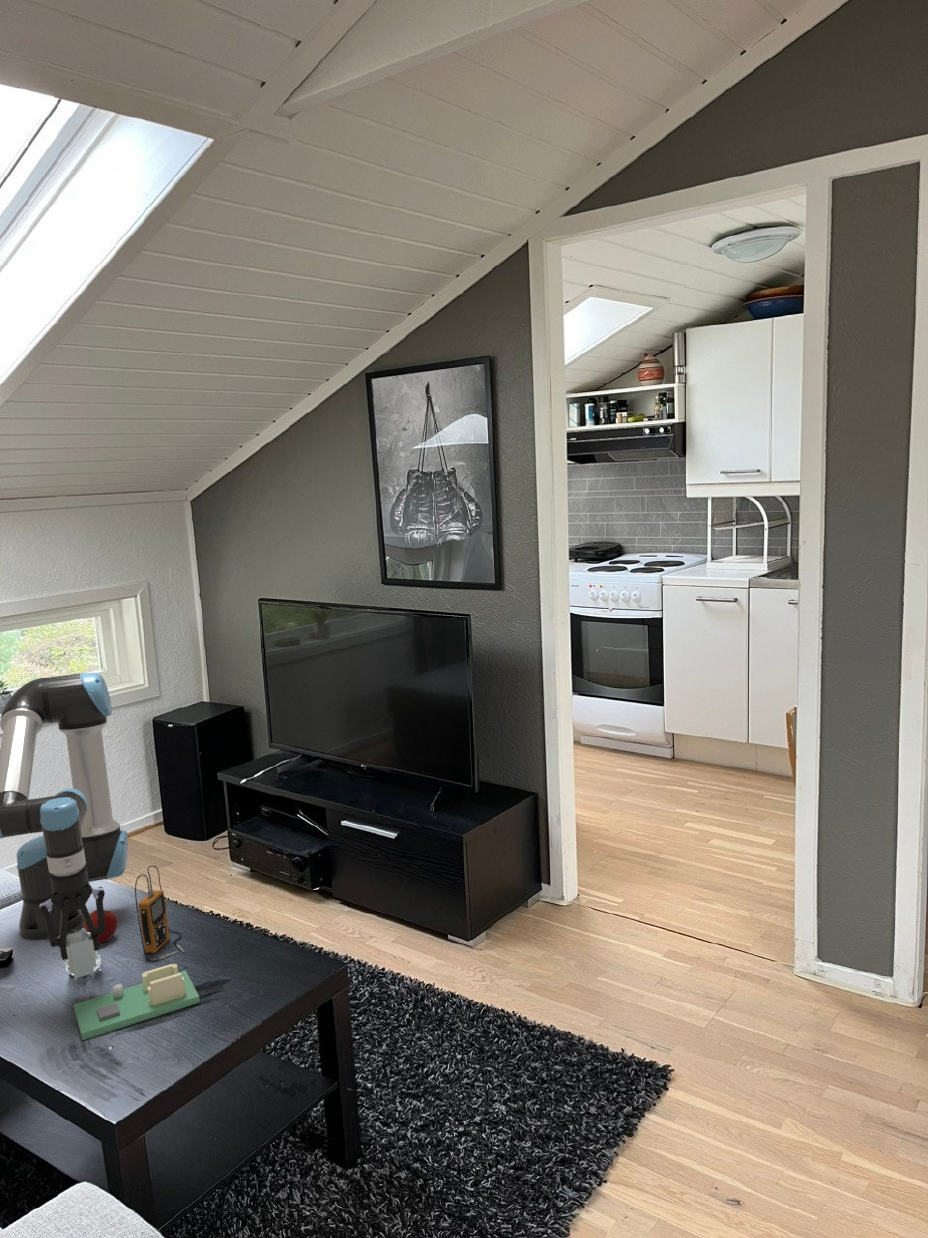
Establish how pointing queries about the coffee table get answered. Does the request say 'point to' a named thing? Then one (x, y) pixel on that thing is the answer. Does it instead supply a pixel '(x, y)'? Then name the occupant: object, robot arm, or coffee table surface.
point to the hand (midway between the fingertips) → (82, 967)
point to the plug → (81, 953)
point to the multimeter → (153, 920)
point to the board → (136, 1002)
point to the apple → (109, 925)
